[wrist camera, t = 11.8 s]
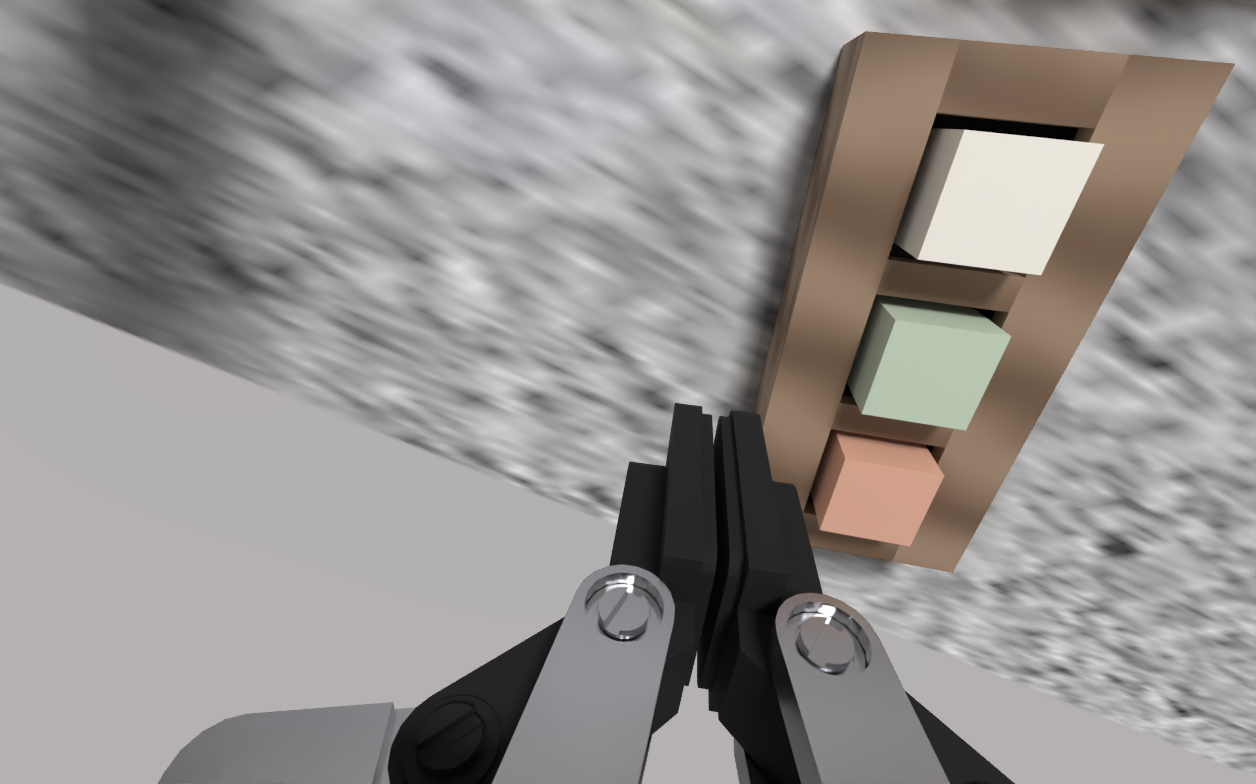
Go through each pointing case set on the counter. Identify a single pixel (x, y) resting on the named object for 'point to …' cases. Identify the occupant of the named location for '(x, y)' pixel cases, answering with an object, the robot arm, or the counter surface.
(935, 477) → the terracotta key
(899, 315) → the sage key
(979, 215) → the cream cube
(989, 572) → the counter surface
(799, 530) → the robot arm
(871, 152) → the wooden compartment tray
